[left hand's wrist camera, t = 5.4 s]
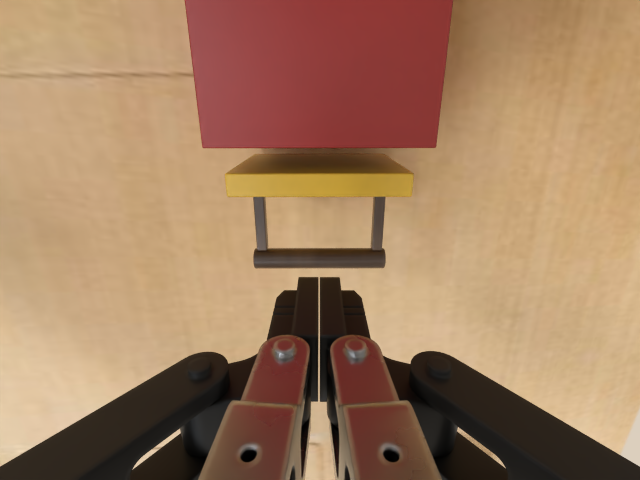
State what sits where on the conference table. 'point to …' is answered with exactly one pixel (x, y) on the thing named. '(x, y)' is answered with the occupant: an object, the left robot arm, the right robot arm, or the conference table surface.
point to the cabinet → (319, 72)
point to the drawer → (319, 181)
